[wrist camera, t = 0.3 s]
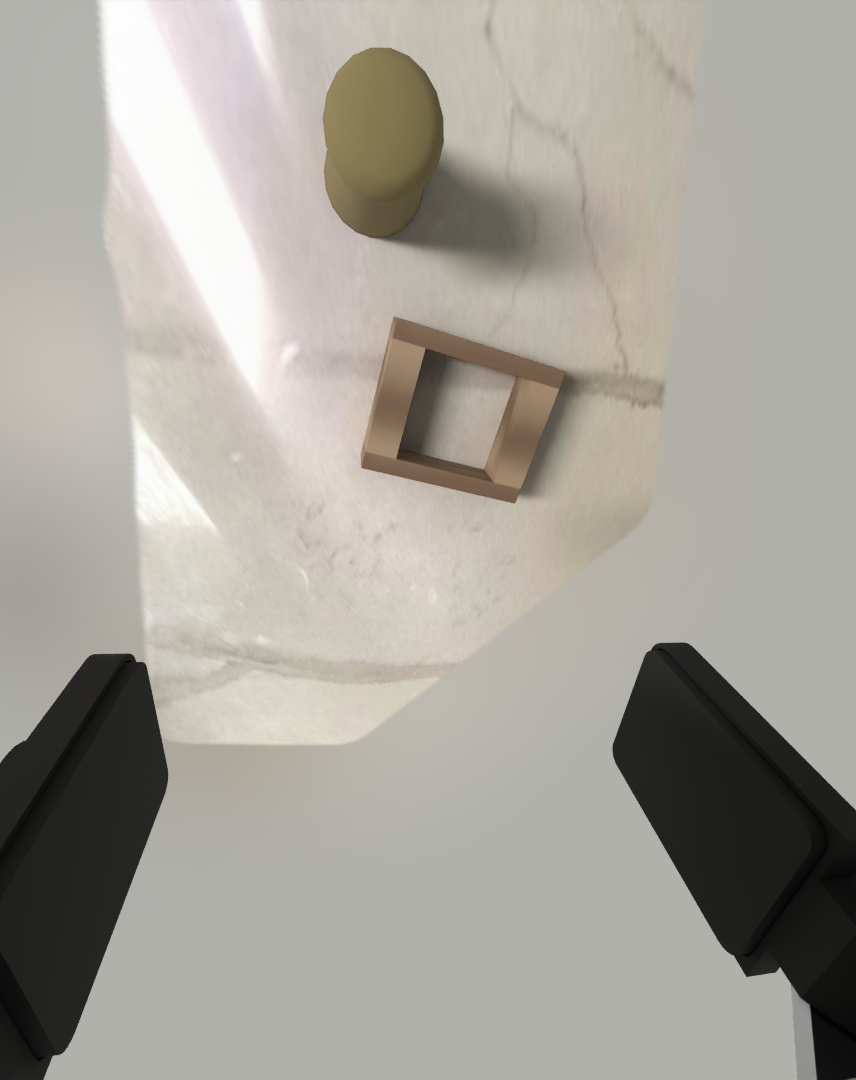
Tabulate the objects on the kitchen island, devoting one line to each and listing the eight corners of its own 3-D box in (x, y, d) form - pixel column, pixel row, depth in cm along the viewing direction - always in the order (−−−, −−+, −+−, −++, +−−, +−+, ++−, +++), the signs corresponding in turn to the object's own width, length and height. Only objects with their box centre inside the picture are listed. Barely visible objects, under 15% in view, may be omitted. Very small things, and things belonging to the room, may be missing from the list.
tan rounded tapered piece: (441, 204, 30) (484, 159, 20) (359, 257, 31) (363, 237, 21) (392, 91, 27) (414, -23, 18) (303, 152, 28) (278, 73, 18)
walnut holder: (393, 316, 33) (397, 318, 30) (550, 366, 36) (566, 371, 33) (360, 455, 37) (361, 467, 34) (503, 489, 40) (515, 503, 37)
